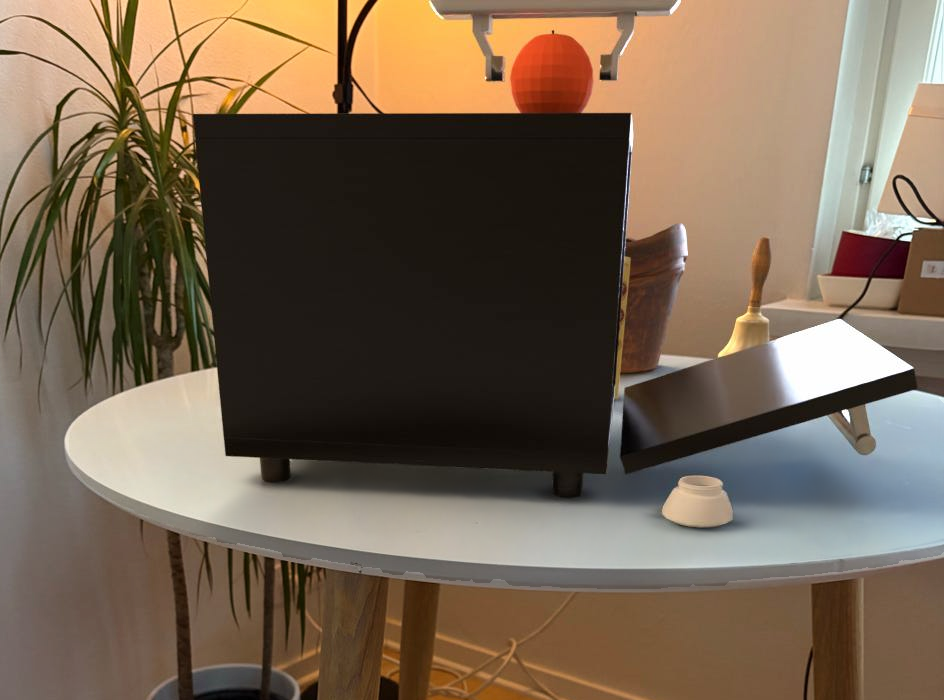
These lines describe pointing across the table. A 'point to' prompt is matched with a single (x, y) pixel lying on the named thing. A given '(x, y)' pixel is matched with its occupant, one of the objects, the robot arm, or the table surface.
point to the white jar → (698, 503)
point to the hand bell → (753, 305)
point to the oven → (417, 287)
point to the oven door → (762, 395)
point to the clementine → (551, 76)
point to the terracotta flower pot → (651, 295)
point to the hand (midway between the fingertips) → (551, 81)
